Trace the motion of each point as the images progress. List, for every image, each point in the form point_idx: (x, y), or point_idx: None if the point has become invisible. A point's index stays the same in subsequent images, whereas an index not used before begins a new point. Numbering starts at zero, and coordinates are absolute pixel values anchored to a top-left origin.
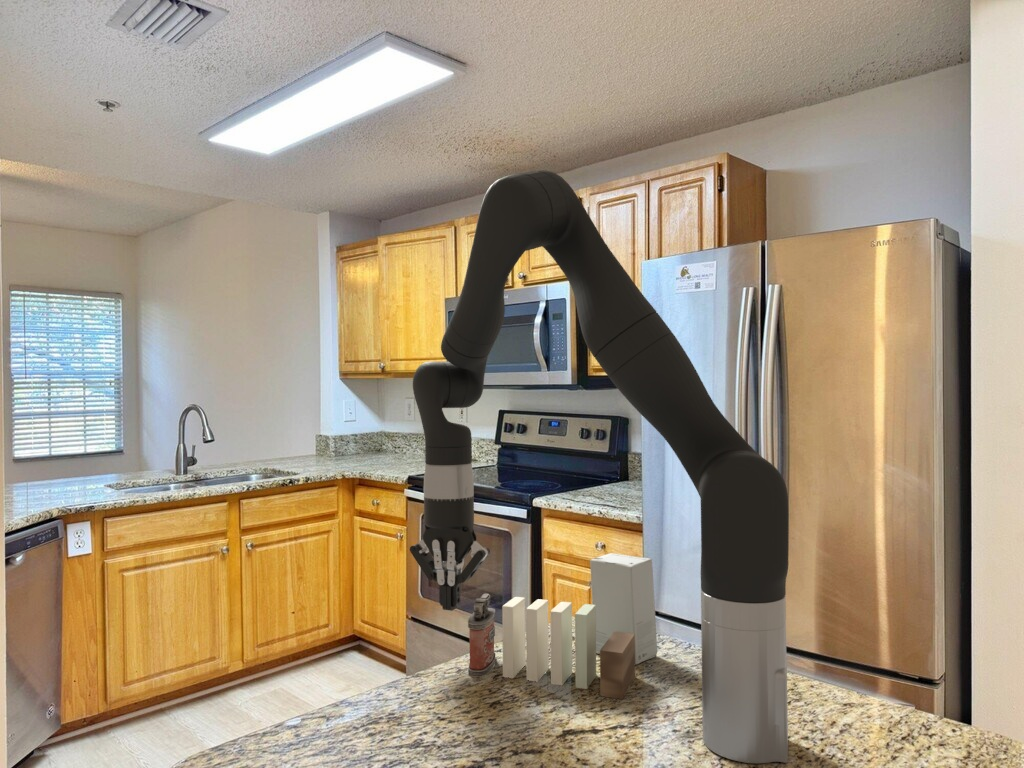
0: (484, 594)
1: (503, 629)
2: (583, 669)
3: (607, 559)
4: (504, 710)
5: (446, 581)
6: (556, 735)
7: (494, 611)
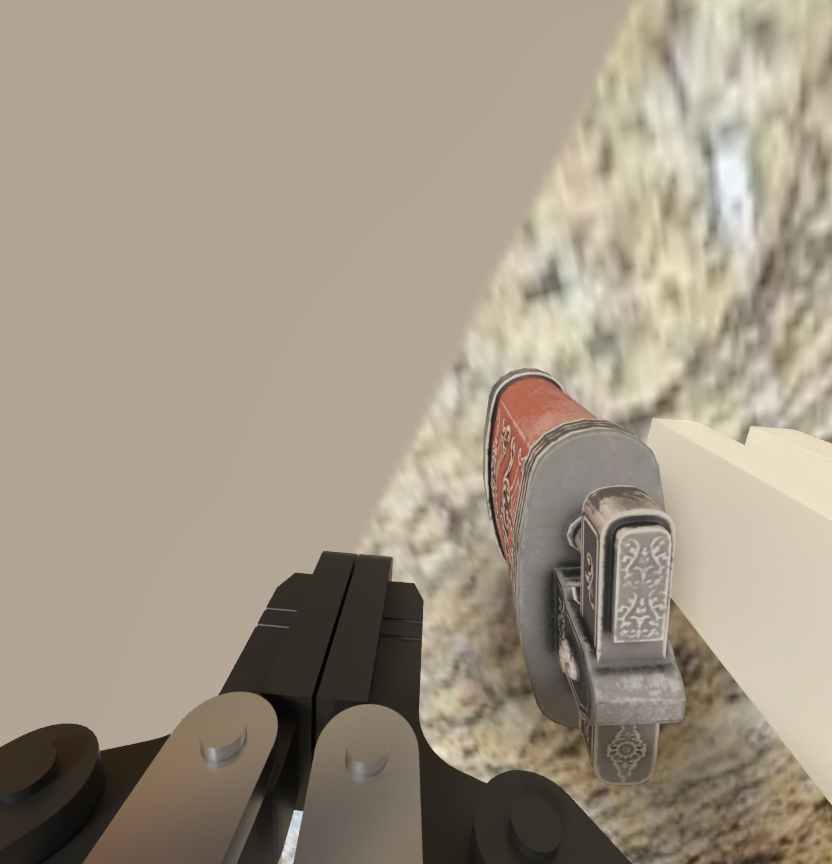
0: (629, 557)
1: (733, 671)
2: None
3: None
4: (668, 728)
5: (285, 836)
6: (814, 803)
7: (660, 501)
